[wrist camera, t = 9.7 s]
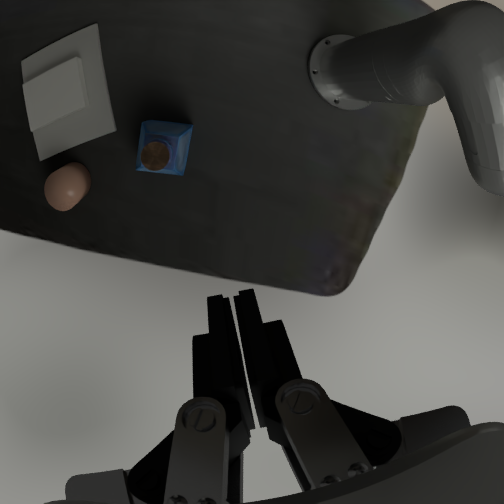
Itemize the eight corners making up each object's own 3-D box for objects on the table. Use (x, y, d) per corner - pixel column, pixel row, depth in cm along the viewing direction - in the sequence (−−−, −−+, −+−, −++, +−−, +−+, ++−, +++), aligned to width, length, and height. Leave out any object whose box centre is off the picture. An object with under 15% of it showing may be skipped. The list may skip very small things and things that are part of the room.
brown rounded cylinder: (93, 164, 37) (79, 173, 33) (89, 201, 40) (77, 213, 36) (60, 160, 36) (45, 168, 32) (58, 195, 39) (44, 207, 34)
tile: (76, 56, 27) (22, 85, 27) (85, 106, 31) (31, 131, 31) (81, 58, 29) (29, 85, 28) (90, 106, 33) (37, 130, 32)
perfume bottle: (144, 161, 39) (124, 181, 29) (150, 119, 36) (130, 125, 26) (185, 166, 41) (179, 187, 30) (193, 124, 38) (188, 131, 28)
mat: (97, 24, 27) (96, 23, 27) (116, 130, 36) (115, 130, 36) (23, 61, 26) (21, 61, 26) (42, 160, 35) (40, 161, 35)
